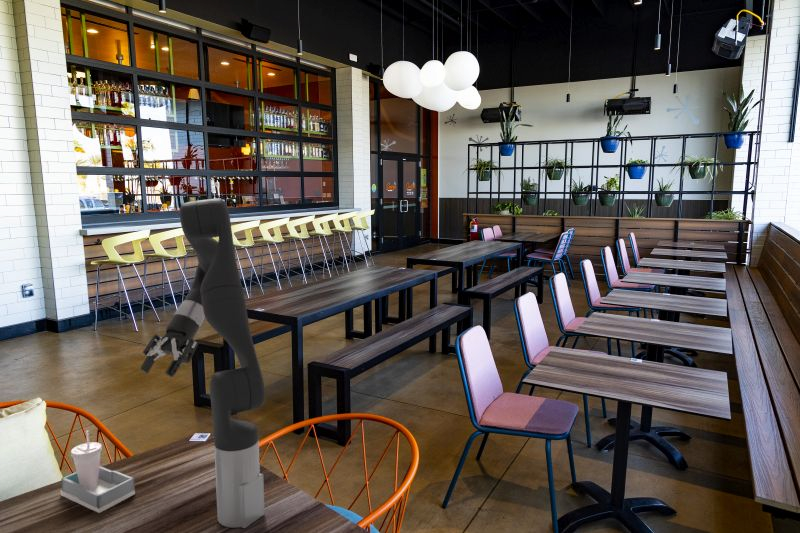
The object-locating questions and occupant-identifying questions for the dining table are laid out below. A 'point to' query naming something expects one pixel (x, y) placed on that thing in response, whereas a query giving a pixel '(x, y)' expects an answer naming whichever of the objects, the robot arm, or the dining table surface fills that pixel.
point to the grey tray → (99, 490)
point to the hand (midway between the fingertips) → (156, 373)
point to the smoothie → (87, 463)
